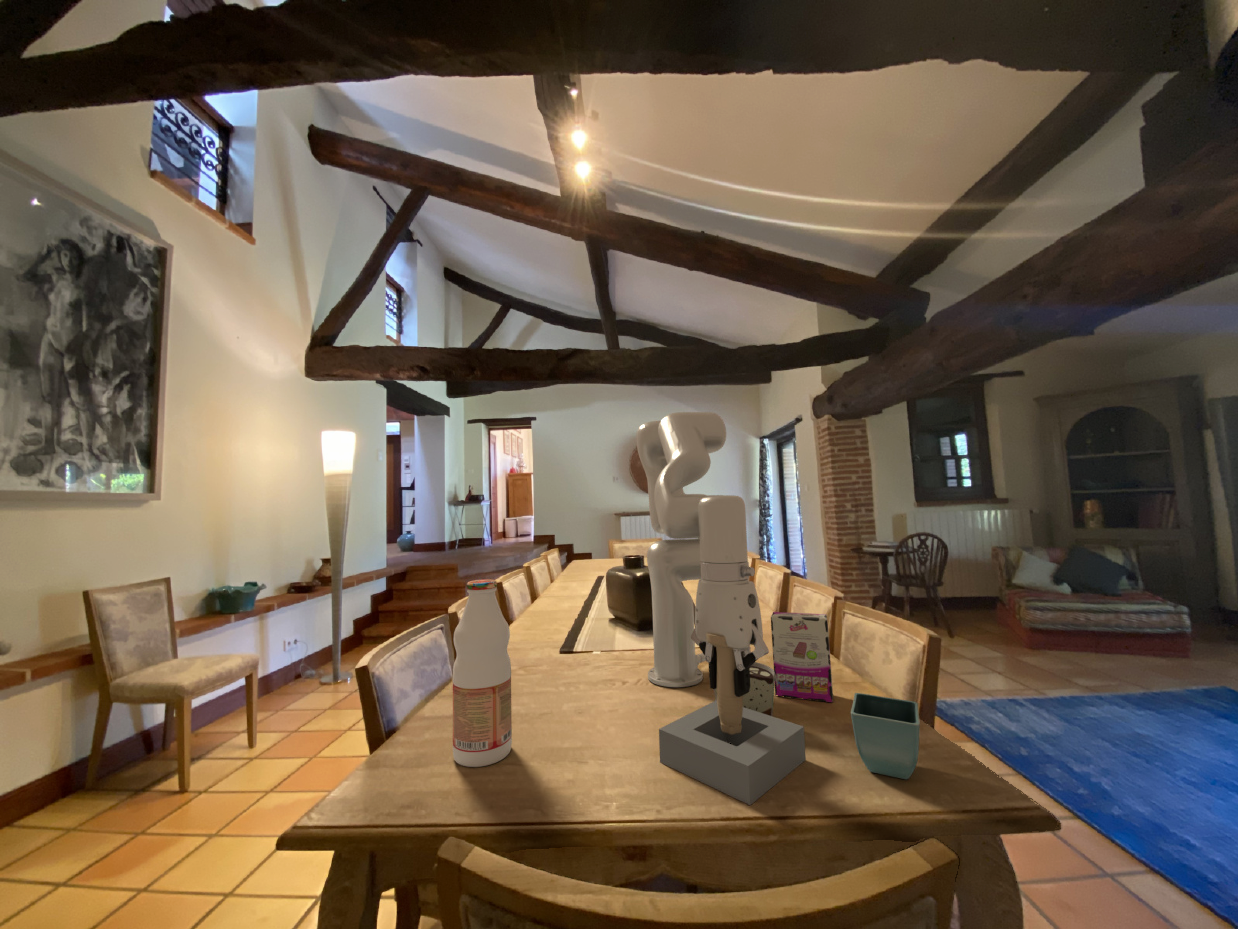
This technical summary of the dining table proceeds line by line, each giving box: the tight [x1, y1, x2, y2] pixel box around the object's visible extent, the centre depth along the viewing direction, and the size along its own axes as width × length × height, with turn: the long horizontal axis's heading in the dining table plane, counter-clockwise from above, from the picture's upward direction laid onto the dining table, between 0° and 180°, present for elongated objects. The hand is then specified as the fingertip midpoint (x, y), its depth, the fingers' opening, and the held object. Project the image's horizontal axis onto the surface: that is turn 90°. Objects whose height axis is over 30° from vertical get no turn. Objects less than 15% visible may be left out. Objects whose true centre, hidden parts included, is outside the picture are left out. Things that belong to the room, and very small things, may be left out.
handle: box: [706, 633, 743, 735], centre depth 78 cm, size 5×6×15 cm
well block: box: [658, 700, 807, 806], centre depth 77 cm, size 16×16×5 cm
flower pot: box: [850, 692, 921, 780], centre depth 74 cm, size 9×9×9 cm
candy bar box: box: [770, 611, 834, 703], centre depth 102 cm, size 11×5×16 cm, turn 68°
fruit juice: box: [452, 578, 513, 768], centre depth 82 cm, size 9×9×28 cm
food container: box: [713, 661, 778, 717], centre depth 91 cm, size 12×6×10 cm, turn 65°
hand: (729, 689), depth 78 cm, fingers closed on handle, 3 cm apart
